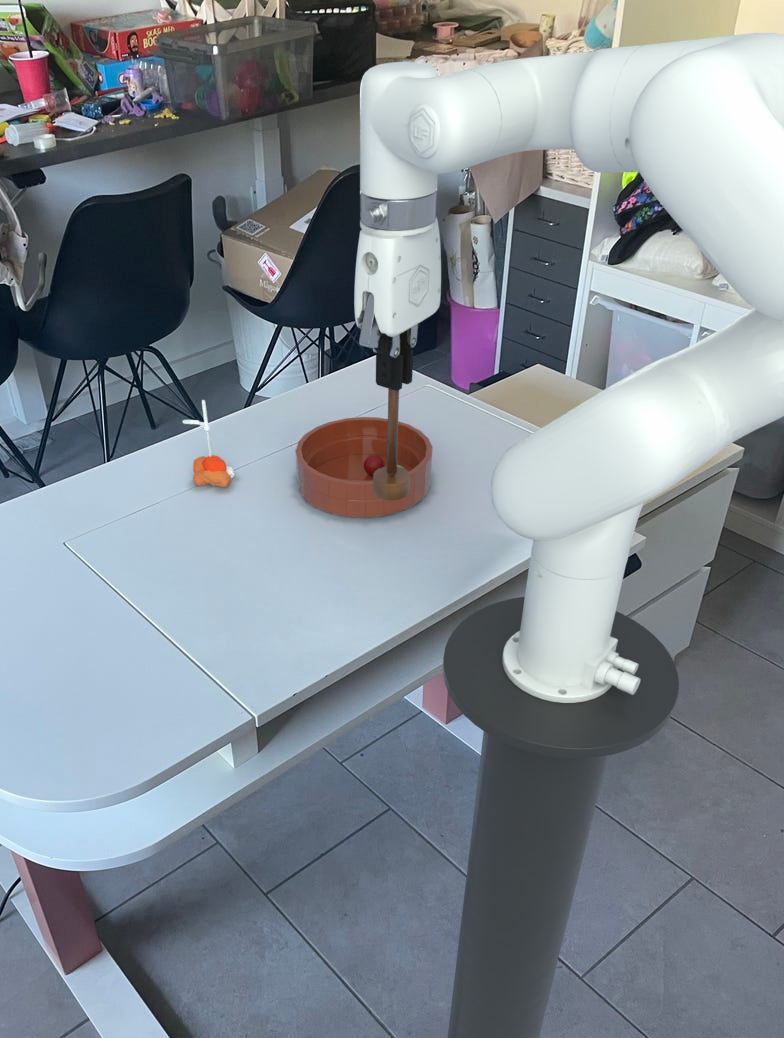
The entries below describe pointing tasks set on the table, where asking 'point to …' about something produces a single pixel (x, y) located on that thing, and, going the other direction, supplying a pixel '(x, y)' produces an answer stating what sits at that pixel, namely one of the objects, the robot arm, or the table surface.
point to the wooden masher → (392, 459)
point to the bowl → (359, 466)
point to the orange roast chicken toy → (210, 462)
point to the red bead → (373, 464)
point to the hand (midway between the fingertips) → (393, 383)
